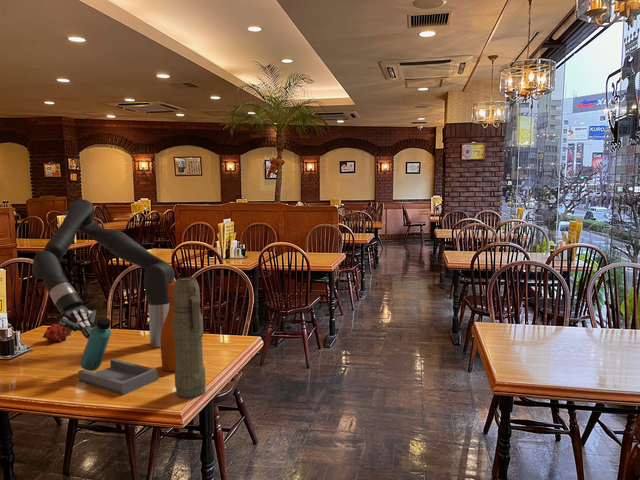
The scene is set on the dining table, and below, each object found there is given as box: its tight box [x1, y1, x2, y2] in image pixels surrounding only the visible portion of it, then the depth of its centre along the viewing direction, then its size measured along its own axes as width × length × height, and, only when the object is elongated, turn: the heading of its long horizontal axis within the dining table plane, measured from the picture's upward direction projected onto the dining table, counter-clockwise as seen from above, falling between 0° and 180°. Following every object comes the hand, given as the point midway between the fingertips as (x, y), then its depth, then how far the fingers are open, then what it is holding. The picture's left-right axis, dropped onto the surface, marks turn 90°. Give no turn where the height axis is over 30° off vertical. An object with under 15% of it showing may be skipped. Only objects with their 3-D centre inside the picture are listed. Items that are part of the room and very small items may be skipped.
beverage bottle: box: [79, 317, 112, 372], centre depth 151 cm, size 6×7×20 cm
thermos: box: [172, 276, 207, 400], centre depth 135 cm, size 9×12×35 cm
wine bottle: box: [160, 282, 176, 372], centre depth 156 cm, size 10×10×30 cm
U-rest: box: [77, 358, 159, 396], centre depth 146 cm, size 22×13×4 cm, turn 60°
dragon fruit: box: [42, 321, 73, 343], centre depth 190 cm, size 8×8×12 cm
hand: (90, 337), depth 152 cm, fingers closed
